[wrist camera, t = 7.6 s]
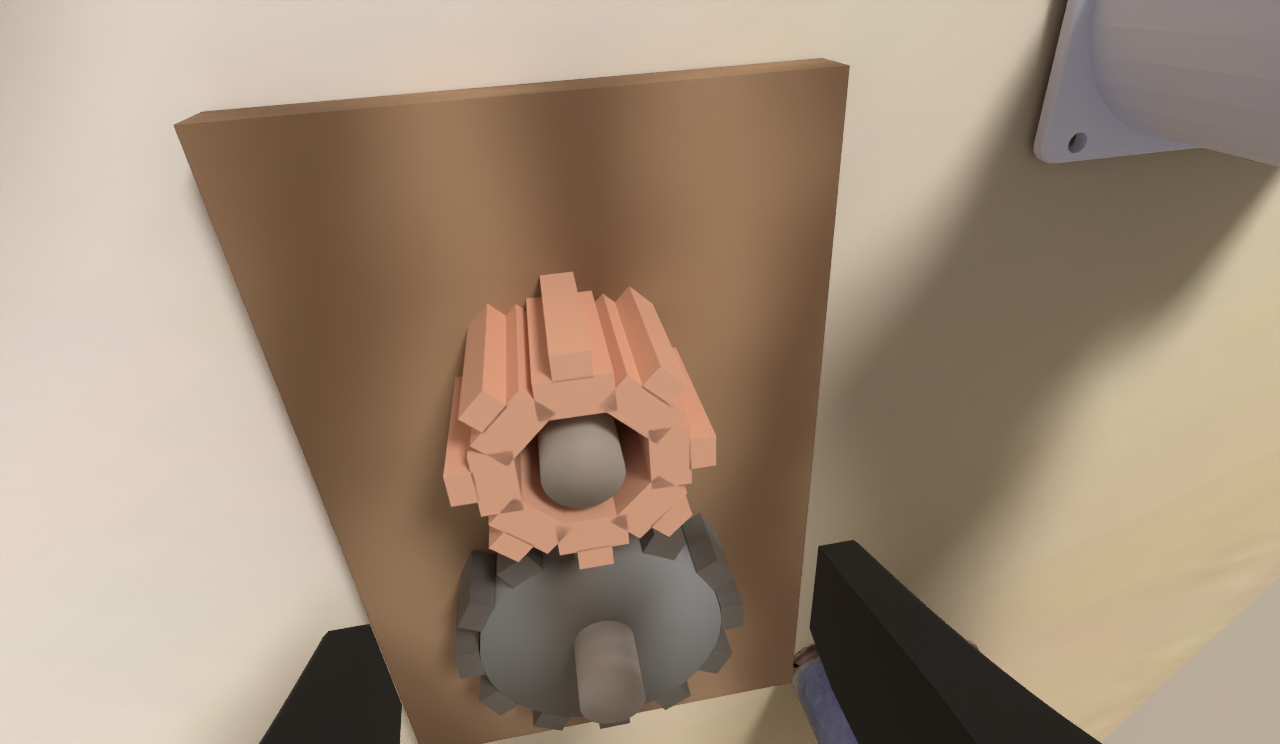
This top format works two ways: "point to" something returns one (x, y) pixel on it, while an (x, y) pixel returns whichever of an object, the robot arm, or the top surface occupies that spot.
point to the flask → (821, 699)
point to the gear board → (509, 274)
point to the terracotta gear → (569, 387)
